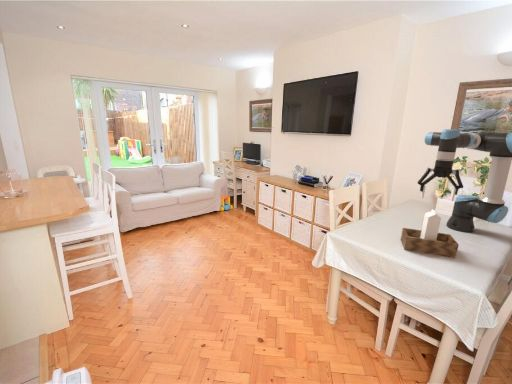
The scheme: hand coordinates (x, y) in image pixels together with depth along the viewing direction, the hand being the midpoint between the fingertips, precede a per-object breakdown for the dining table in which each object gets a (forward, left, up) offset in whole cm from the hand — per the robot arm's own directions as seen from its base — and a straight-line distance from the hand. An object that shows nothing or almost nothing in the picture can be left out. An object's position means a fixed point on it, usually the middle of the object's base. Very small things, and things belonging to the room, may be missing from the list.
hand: (436, 198), depth 138 cm
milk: (0, 0, -29) cm, 29 cm away
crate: (0, 0, -30) cm, 30 cm away
